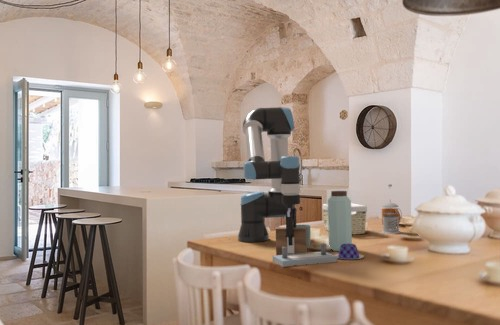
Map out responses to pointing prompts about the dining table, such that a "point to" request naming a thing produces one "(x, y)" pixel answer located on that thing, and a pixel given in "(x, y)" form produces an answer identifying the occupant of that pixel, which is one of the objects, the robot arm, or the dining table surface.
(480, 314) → the dining table surface
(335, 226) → the water bottle
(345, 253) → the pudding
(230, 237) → the dining table surface
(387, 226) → the french press
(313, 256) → the light blue peg stand
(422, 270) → the dining table surface
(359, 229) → the storage basket
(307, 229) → the cup
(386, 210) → the glass coffee carafe
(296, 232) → the wooden block
